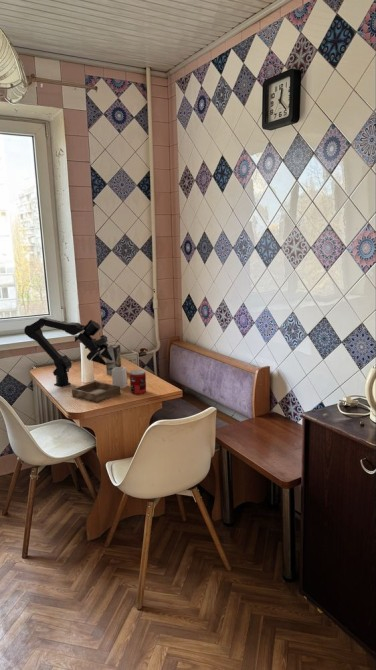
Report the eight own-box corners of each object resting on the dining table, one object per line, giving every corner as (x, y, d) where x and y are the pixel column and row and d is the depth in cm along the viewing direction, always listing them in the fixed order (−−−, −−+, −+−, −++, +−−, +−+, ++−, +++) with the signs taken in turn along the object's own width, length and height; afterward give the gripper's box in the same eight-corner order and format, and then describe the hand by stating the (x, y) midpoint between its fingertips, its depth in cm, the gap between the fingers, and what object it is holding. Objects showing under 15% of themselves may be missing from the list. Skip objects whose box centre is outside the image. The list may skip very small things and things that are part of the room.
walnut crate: (72, 396, 239) (71, 389, 239) (95, 388, 252) (95, 381, 251) (97, 403, 229) (96, 395, 228) (120, 394, 242) (120, 386, 241)
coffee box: (116, 375, 276) (115, 348, 273) (106, 374, 277) (104, 347, 274) (122, 370, 285) (120, 344, 281) (111, 370, 286) (110, 344, 283)
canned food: (130, 390, 247) (129, 370, 245) (146, 389, 248) (145, 369, 245) (130, 395, 240) (129, 374, 237) (146, 394, 240) (145, 373, 238)
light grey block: (112, 388, 252) (111, 370, 250) (116, 384, 257) (115, 367, 255) (123, 388, 250) (122, 370, 248) (127, 385, 256) (126, 367, 254)
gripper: (90, 334, 241) (112, 356, 241) (104, 328, 259) (124, 348, 259) (77, 349, 244) (99, 370, 244) (91, 341, 262) (111, 361, 262)
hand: (109, 362), depth 252 cm, fingers open, 9 cm apart
